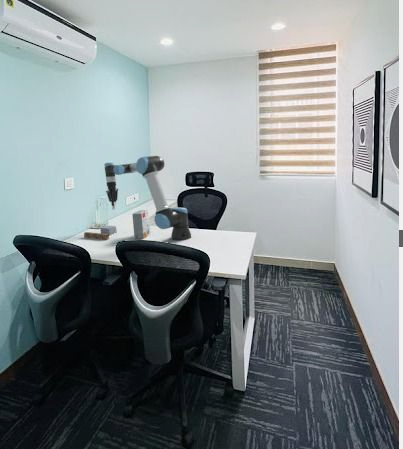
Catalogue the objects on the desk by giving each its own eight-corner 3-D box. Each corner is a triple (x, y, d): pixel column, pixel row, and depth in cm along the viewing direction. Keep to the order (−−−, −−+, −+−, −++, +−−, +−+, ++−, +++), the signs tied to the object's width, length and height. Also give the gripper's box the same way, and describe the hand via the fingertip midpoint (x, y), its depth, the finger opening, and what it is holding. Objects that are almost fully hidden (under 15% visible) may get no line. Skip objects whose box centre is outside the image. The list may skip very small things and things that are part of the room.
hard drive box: (143, 239, 255) (141, 213, 250) (134, 239, 257) (131, 213, 252) (150, 233, 270) (148, 209, 265) (141, 233, 271) (139, 209, 267)
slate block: (116, 233, 279) (116, 226, 277) (109, 235, 272) (109, 228, 271) (108, 232, 284) (107, 225, 282) (101, 234, 277) (100, 227, 275)
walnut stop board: (109, 239, 261) (108, 234, 260) (107, 239, 259) (106, 234, 258) (86, 236, 272) (86, 232, 271) (84, 237, 270) (83, 232, 269)
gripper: (112, 180, 284) (116, 207, 289) (102, 182, 272) (105, 210, 278) (119, 180, 280) (122, 208, 286) (109, 182, 269) (112, 211, 275)
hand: (114, 209), depth 282 cm, fingers closed
